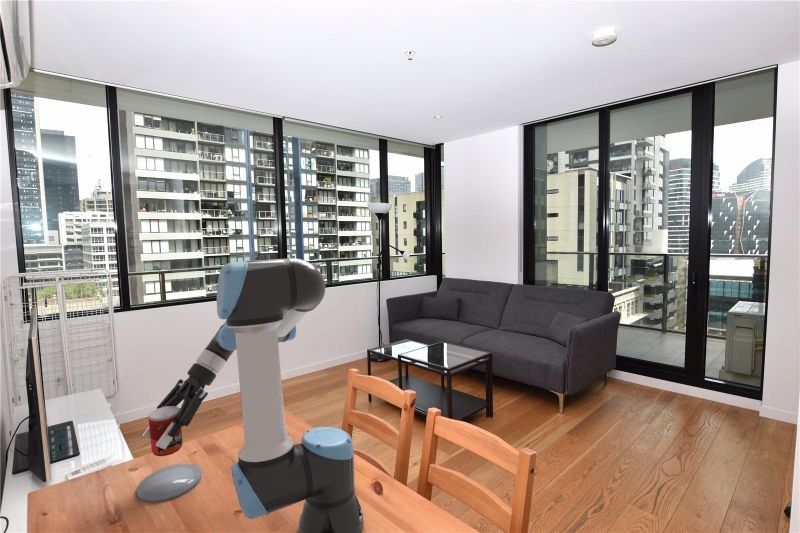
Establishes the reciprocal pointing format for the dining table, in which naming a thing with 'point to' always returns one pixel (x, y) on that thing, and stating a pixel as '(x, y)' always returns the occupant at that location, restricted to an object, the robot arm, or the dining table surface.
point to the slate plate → (169, 483)
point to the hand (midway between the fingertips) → (153, 442)
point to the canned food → (158, 426)
